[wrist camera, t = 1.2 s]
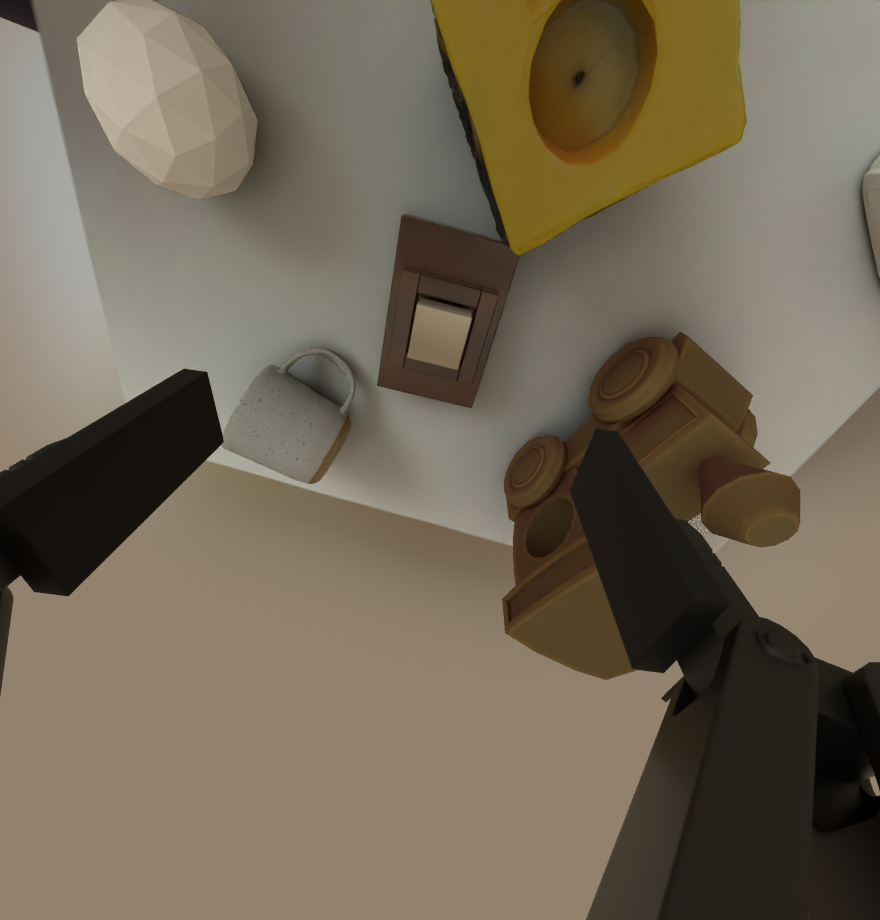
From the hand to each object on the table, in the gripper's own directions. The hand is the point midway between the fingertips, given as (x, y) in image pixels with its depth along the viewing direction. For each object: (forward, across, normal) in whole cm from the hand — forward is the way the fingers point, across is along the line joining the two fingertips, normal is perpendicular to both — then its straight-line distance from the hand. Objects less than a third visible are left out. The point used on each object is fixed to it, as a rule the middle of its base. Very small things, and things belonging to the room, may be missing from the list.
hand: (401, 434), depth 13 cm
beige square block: (+16, 0, -1) cm, 16 cm away
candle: (+19, +5, +12) cm, 23 cm away
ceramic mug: (+19, -10, -9) cm, 24 cm away
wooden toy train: (+19, +16, -9) cm, 27 cm away
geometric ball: (+19, -15, +9) cm, 26 cm away
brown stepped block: (+19, 0, -1) cm, 19 cm away
